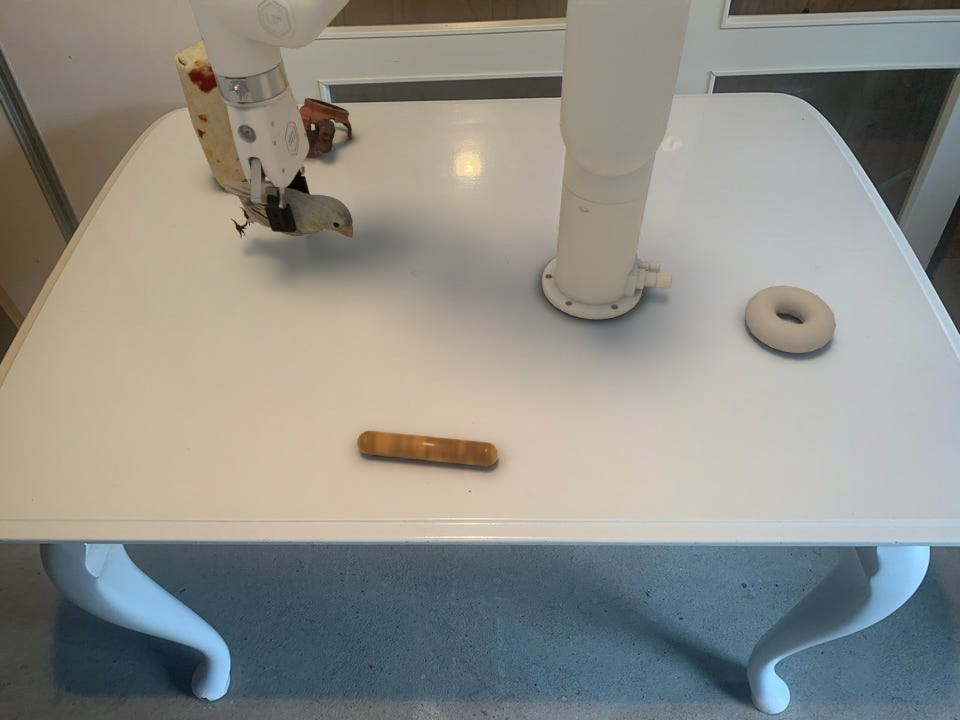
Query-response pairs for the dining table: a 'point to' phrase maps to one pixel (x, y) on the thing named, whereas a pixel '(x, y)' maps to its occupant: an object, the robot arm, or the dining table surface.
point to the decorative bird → (296, 210)
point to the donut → (783, 333)
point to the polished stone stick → (427, 448)
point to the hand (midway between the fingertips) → (292, 215)
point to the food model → (208, 113)
